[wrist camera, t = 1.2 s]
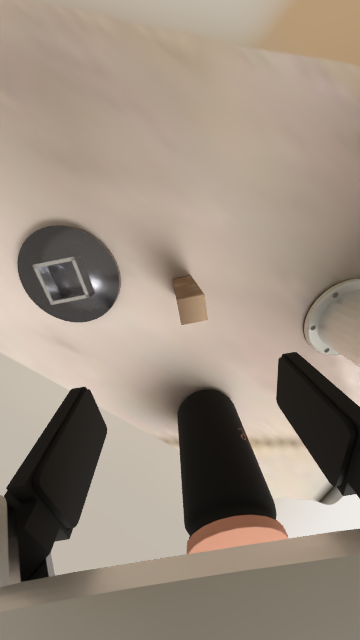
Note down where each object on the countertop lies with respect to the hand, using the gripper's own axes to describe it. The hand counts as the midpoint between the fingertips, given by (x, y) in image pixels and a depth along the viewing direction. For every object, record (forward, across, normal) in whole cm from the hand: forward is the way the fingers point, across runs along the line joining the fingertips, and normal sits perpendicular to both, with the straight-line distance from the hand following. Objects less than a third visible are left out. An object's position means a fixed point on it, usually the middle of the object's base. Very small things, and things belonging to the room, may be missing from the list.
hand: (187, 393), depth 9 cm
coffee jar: (+19, -2, +23) cm, 30 cm away
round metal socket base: (+19, +13, -5) cm, 23 cm away
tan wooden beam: (+19, -1, -1) cm, 19 cm away
